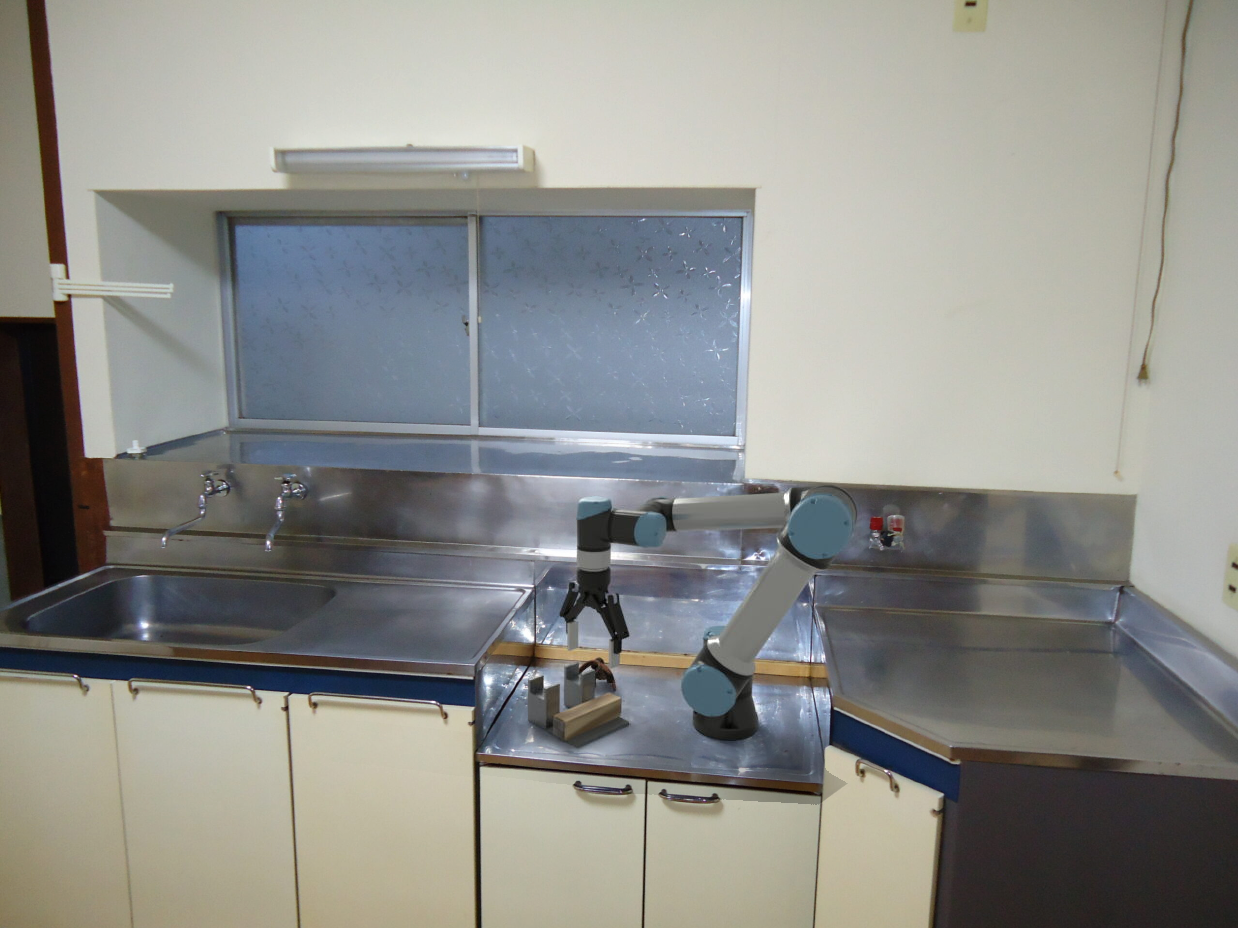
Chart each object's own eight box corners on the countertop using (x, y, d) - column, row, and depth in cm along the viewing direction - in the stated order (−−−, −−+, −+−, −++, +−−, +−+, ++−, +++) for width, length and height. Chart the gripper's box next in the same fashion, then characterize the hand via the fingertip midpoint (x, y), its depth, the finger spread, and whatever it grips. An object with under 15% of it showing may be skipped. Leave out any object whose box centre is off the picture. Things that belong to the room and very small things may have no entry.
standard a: (594, 709, 194) (595, 669, 193) (582, 714, 192) (582, 674, 190) (576, 699, 199) (576, 661, 197) (563, 704, 196) (564, 665, 194)
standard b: (559, 724, 187) (559, 683, 185) (546, 729, 184) (546, 688, 182) (541, 714, 191) (541, 674, 190) (527, 719, 188) (528, 679, 187)
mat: (629, 723, 187) (629, 721, 187) (577, 747, 176) (577, 745, 176) (599, 708, 194) (599, 706, 194) (547, 731, 183) (548, 728, 183)
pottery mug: (618, 698, 201) (603, 674, 198) (584, 711, 203) (569, 687, 200) (619, 667, 212) (605, 644, 209) (587, 679, 214) (573, 656, 211)
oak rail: (622, 715, 190) (622, 697, 190) (563, 741, 178) (563, 722, 177) (610, 709, 193) (610, 691, 192) (551, 734, 181) (551, 716, 180)
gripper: (646, 575, 173) (644, 669, 177) (568, 552, 191) (568, 637, 194) (622, 582, 168) (620, 679, 172) (544, 558, 185) (544, 646, 189)
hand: (592, 657), depth 183 cm, fingers open, 13 cm apart
